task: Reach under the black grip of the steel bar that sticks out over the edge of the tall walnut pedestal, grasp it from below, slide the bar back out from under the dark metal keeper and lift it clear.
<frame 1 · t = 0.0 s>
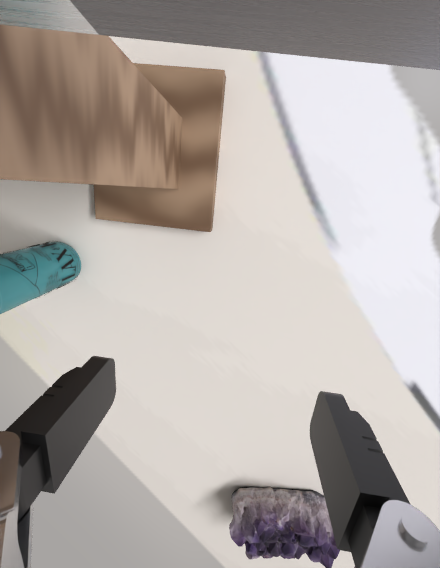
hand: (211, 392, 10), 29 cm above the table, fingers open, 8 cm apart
walnut pedestal: (158, 154, 35), on the table
beverage bottle: (68, 258, 42), on the table
geode: (282, 499, 54), on the table
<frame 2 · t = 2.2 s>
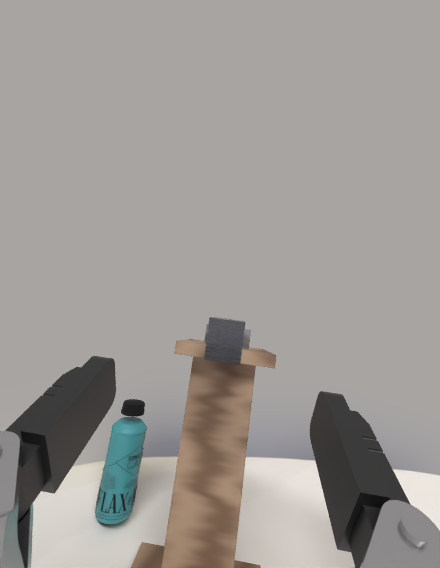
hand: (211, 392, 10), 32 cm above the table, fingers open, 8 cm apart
beverage bottle: (112, 522, 47), on the table
steel bar: (225, 348, 32), point 33 cm above the table, touching walnut pedestal
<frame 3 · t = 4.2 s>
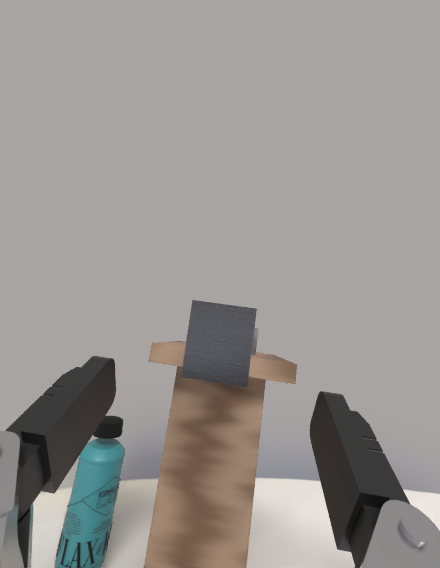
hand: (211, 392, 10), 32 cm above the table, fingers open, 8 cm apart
steel bar: (222, 353, 22), point 33 cm above the table, touching walnut pedestal
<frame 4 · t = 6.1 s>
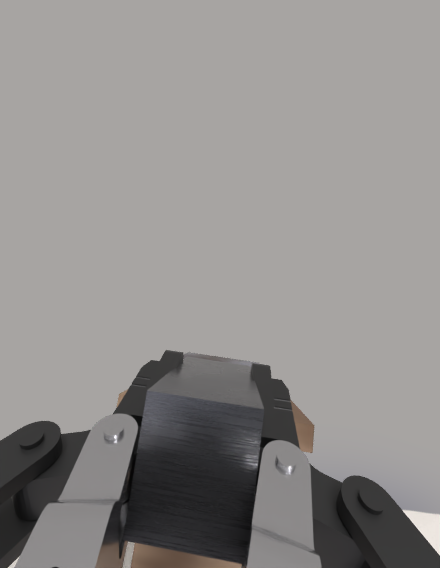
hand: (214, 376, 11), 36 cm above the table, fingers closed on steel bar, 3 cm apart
steel bar: (214, 409, 16), point 33 cm above the table, touching gripper, walnut pedestal
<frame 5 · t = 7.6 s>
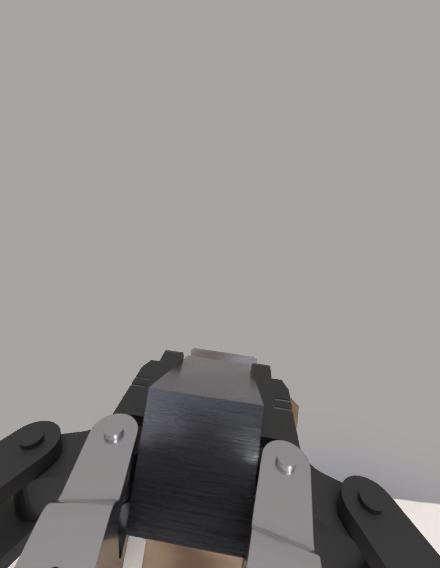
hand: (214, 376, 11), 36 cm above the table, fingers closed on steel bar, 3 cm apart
steel bar: (214, 408, 16), point 33 cm above the table, touching gripper
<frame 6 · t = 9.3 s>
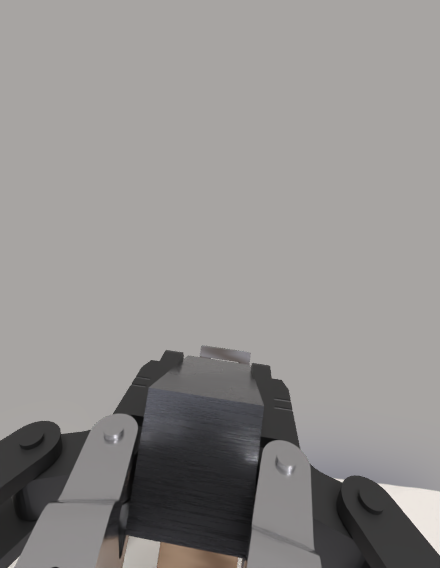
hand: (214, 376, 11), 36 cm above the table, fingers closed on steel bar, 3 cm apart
steel bar: (214, 408, 16), point 33 cm above the table, touching gripper
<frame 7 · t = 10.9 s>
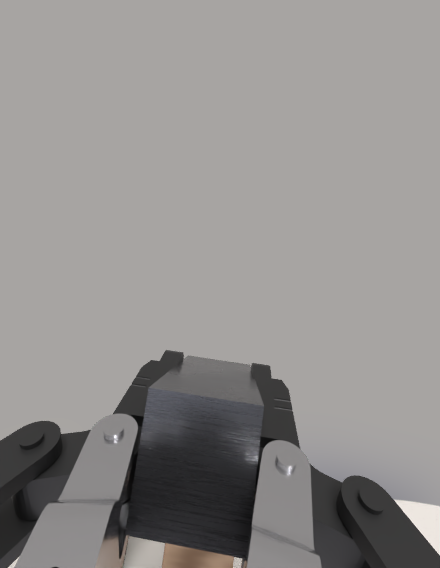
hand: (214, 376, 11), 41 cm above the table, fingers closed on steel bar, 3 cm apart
steel bar: (214, 408, 16), point 39 cm above the table, touching gripper
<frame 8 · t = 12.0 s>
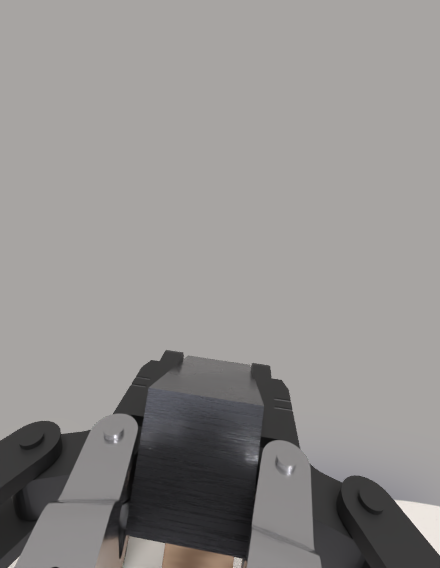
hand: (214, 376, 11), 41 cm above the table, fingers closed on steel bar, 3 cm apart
steel bar: (214, 408, 16), point 39 cm above the table, touching gripper
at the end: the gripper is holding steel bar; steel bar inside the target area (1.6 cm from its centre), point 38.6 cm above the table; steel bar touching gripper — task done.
